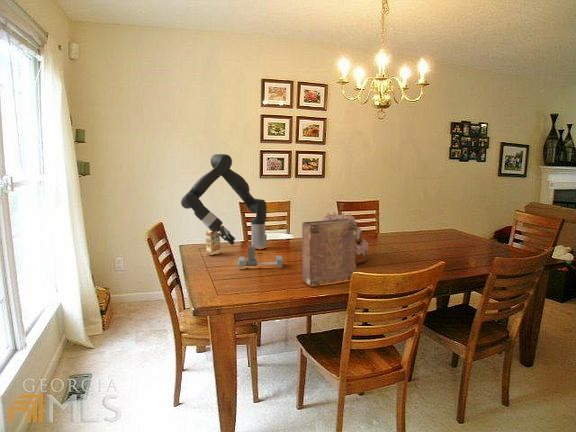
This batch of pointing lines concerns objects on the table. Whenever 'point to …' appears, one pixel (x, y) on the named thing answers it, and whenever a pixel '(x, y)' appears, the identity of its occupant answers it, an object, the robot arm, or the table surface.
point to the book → (328, 251)
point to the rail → (278, 262)
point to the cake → (361, 243)
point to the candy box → (212, 241)
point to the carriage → (251, 257)
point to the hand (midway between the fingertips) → (233, 241)
